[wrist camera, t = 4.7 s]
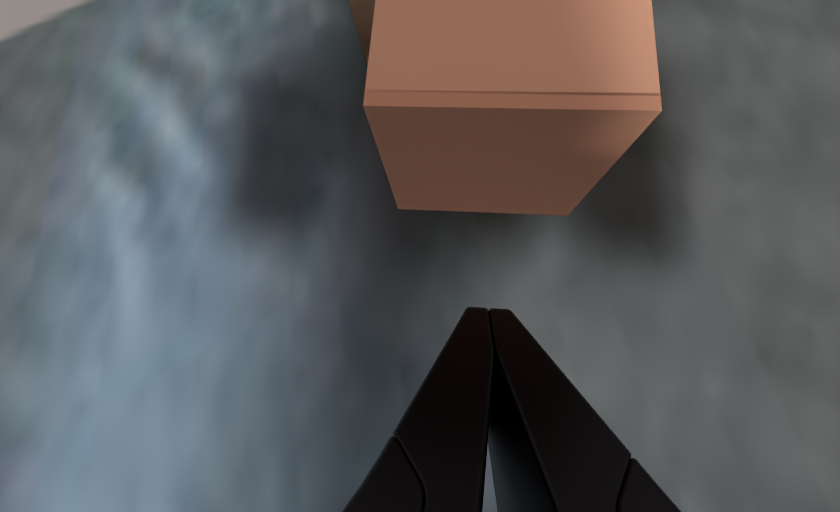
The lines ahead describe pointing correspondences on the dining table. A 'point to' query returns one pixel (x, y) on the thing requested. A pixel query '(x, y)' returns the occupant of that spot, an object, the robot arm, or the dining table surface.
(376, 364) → the dining table surface
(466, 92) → the peg
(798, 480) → the dining table surface
